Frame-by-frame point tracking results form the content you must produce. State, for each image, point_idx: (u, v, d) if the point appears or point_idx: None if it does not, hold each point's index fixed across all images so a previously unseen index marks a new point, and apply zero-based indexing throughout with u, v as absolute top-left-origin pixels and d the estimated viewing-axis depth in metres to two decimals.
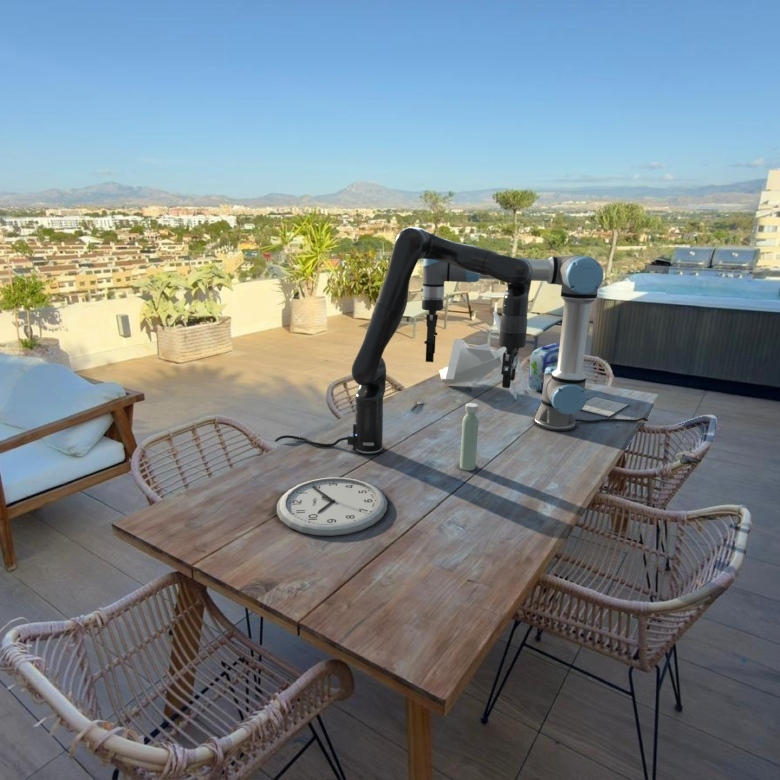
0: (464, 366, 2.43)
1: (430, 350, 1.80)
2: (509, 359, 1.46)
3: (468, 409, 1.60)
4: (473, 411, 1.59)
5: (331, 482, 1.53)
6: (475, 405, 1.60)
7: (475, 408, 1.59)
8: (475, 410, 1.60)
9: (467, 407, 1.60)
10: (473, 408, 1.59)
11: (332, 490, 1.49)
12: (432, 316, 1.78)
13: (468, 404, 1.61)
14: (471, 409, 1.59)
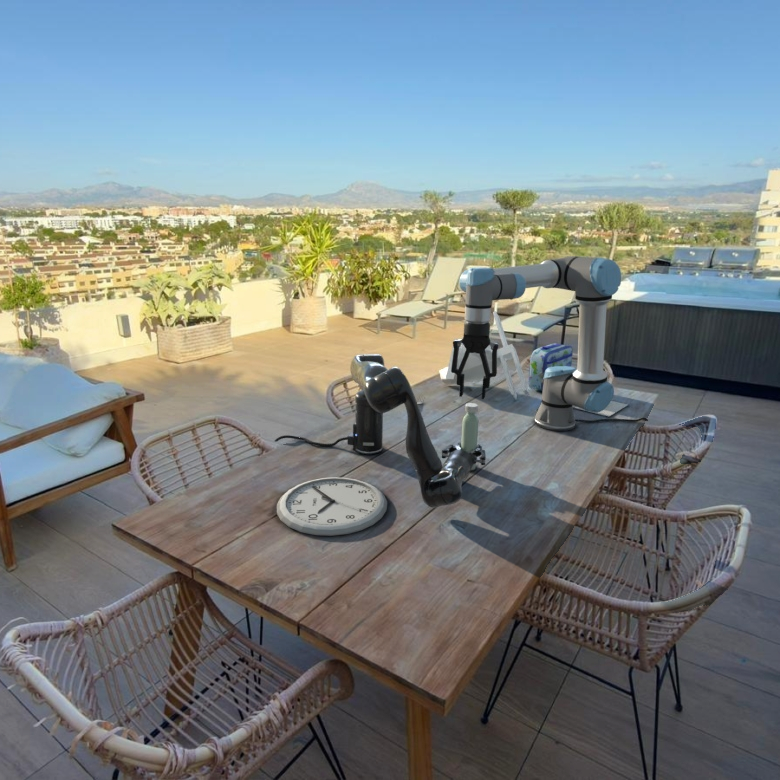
0: (464, 366, 2.43)
1: None
2: None
3: (468, 409, 1.60)
4: (473, 411, 1.59)
5: (331, 482, 1.53)
6: (475, 405, 1.60)
7: (475, 408, 1.59)
8: (475, 410, 1.60)
9: (467, 407, 1.60)
10: (473, 408, 1.59)
11: (332, 490, 1.49)
12: None
13: (468, 404, 1.61)
14: (471, 409, 1.59)
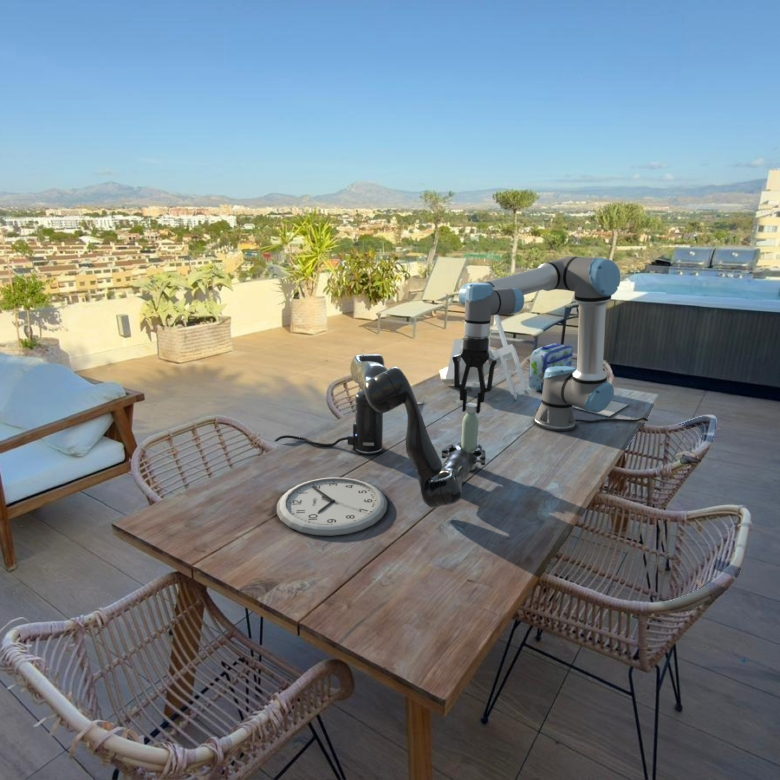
0: (464, 366, 2.43)
1: (460, 396, 1.61)
2: None
3: (468, 409, 1.60)
4: (473, 411, 1.59)
5: (331, 482, 1.53)
6: (475, 405, 1.60)
7: (475, 408, 1.59)
8: (475, 410, 1.60)
9: (467, 407, 1.60)
10: (473, 408, 1.59)
11: (332, 490, 1.49)
12: None
13: (468, 404, 1.61)
14: (471, 409, 1.59)
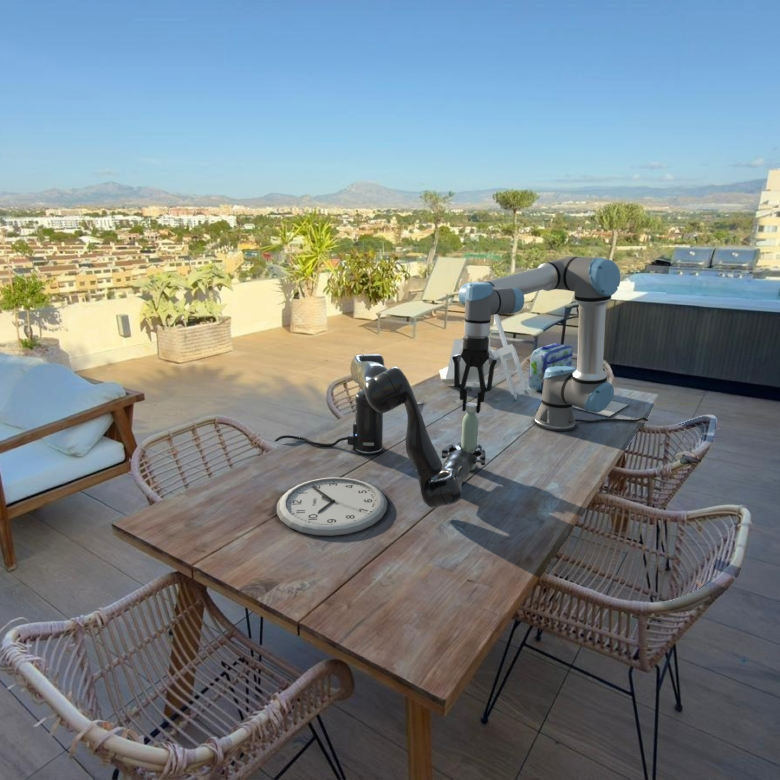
0: (464, 366, 2.43)
1: None
2: None
3: None
4: None
5: (331, 482, 1.53)
6: (471, 403, 1.62)
7: None
8: None
9: None
10: None
11: (332, 490, 1.49)
12: None
13: (472, 405, 1.60)
14: None
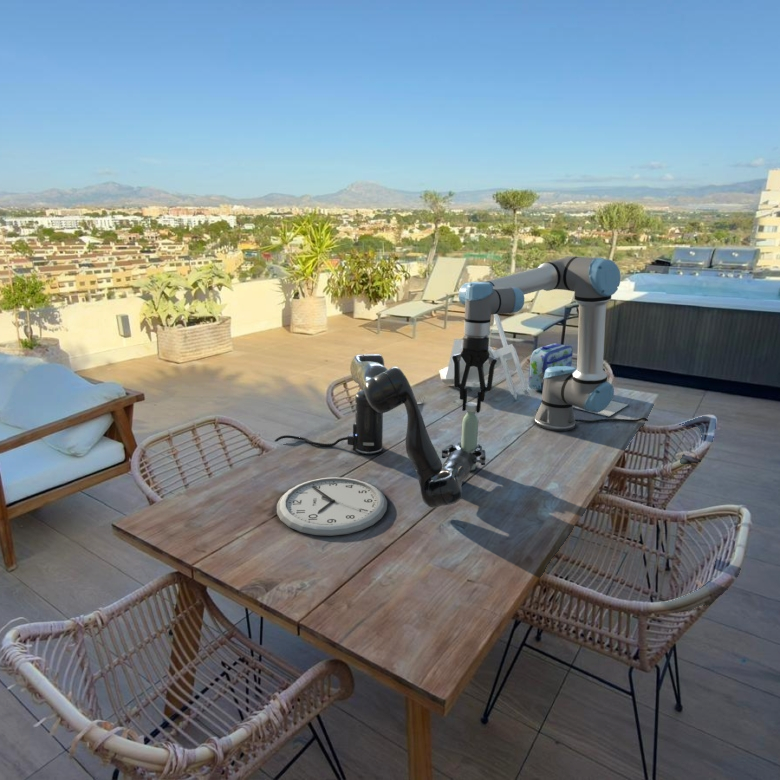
0: (464, 366, 2.43)
1: None
2: None
3: None
4: None
5: (331, 482, 1.53)
6: (468, 404, 1.60)
7: (465, 405, 1.62)
8: None
9: None
10: None
11: (332, 490, 1.49)
12: None
13: (474, 403, 1.61)
14: None
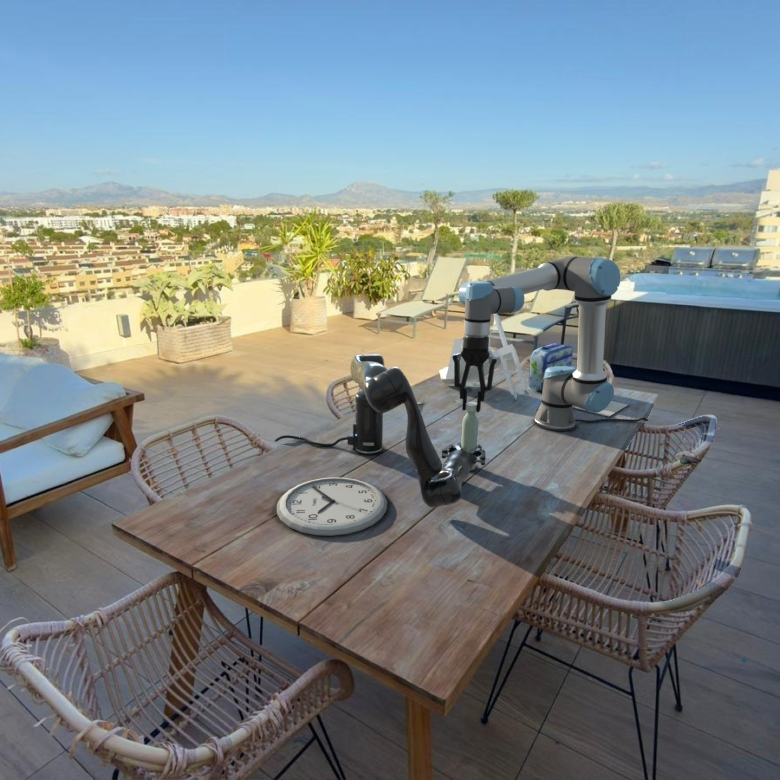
0: (464, 366, 2.43)
1: None
2: None
3: (465, 407, 1.60)
4: (469, 410, 1.59)
5: (331, 482, 1.53)
6: (474, 404, 1.60)
7: (472, 407, 1.59)
8: (472, 409, 1.59)
9: (465, 405, 1.61)
10: (469, 407, 1.59)
11: (332, 490, 1.49)
12: None
13: (469, 402, 1.61)
14: (468, 407, 1.60)
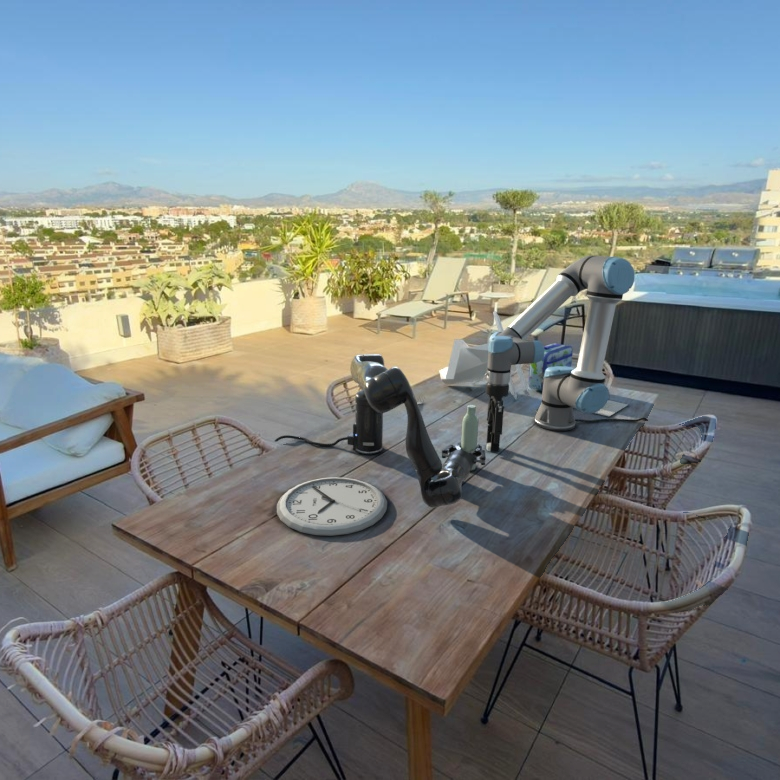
0: (464, 366, 2.43)
1: (497, 441, 1.74)
2: None
3: None
4: None
5: (331, 482, 1.53)
6: None
7: None
8: None
9: None
10: None
11: (332, 490, 1.49)
12: (501, 408, 1.69)
13: None
14: None
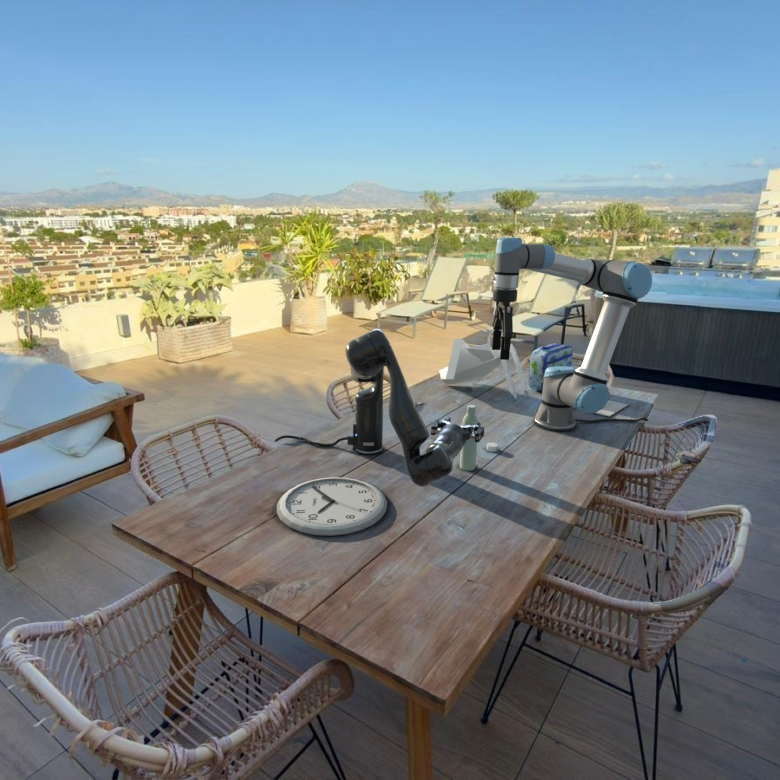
0: (464, 366, 2.43)
1: (507, 346, 1.61)
2: None
3: (496, 449, 1.79)
4: (497, 449, 1.80)
5: (331, 482, 1.53)
6: (494, 443, 1.81)
7: None
8: None
9: (495, 447, 1.78)
10: (497, 446, 1.80)
11: (332, 490, 1.49)
12: (509, 308, 1.59)
13: (491, 445, 1.79)
14: (497, 447, 1.79)
